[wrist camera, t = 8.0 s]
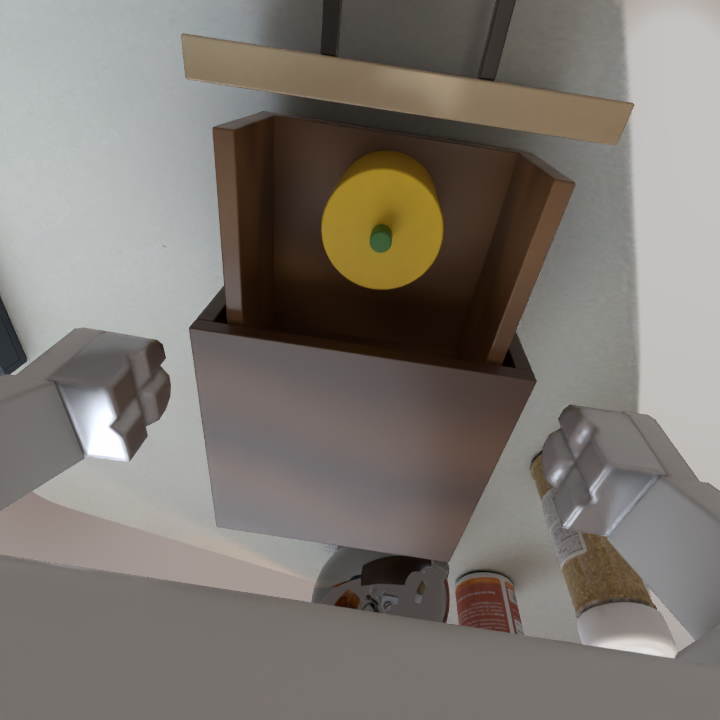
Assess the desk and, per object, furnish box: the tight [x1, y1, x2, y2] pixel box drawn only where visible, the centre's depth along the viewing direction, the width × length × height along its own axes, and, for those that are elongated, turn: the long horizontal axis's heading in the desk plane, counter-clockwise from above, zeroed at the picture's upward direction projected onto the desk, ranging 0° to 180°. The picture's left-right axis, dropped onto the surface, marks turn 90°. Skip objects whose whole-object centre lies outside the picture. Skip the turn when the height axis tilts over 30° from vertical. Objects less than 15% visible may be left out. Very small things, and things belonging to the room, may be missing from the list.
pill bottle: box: [455, 572, 524, 635], centre depth 40 cm, size 6×6×11 cm
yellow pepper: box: [321, 150, 444, 290], centre depth 19 cm, size 5×5×5 cm
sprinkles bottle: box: [530, 454, 677, 658], centre depth 28 cm, size 5×5×13 cm
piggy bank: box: [312, 546, 450, 623], centre depth 37 cm, size 11×15×12 cm
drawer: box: [181, 0, 634, 366], centre depth 18 cm, size 19×14×7 cm
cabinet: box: [189, 286, 537, 562], centre depth 26 cm, size 16×16×9 cm
